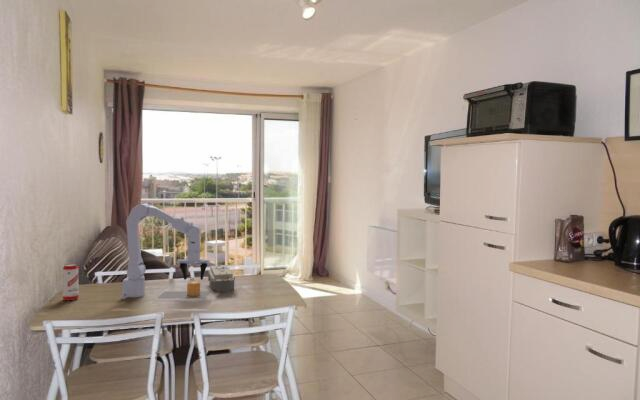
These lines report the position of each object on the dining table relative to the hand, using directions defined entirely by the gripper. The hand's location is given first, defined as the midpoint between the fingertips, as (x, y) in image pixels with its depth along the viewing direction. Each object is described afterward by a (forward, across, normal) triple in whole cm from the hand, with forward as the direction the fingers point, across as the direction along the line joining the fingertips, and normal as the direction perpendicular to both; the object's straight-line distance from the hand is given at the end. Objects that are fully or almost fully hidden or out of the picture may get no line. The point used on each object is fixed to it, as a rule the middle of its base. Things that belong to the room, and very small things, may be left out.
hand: (193, 279), depth 212 cm
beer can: (+9, -54, -6) cm, 55 cm away
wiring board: (+8, -4, -1) cm, 9 cm away
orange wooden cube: (+7, 0, 0) cm, 7 cm away
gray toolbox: (+8, +10, +16) cm, 21 cm away
